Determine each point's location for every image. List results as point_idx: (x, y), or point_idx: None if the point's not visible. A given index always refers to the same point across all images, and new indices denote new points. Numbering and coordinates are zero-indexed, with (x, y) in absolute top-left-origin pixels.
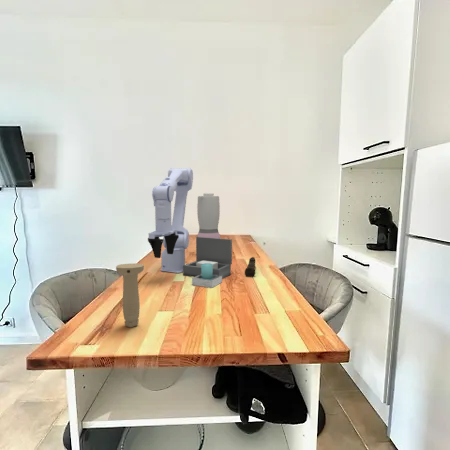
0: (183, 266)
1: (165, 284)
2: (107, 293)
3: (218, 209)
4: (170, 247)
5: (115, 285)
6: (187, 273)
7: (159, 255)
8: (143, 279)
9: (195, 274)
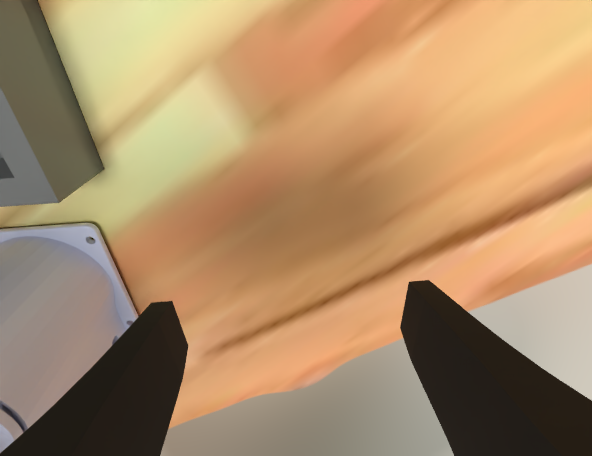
0: (62, 194)
1: (348, 130)
2: (571, 264)
3: None
4: (143, 401)
5: None
6: (77, 136)
7: (449, 298)
8: (320, 292)
9: (38, 46)
